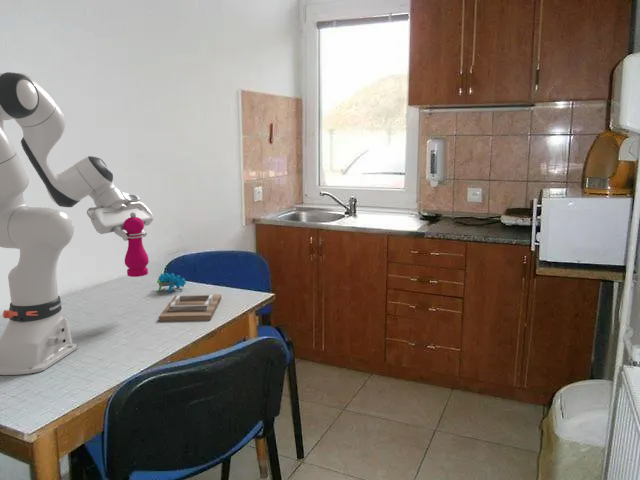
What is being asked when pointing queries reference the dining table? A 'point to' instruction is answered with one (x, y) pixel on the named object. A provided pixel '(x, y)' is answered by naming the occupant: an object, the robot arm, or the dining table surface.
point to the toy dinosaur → (170, 281)
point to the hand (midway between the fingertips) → (136, 237)
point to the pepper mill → (135, 247)
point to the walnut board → (190, 308)
